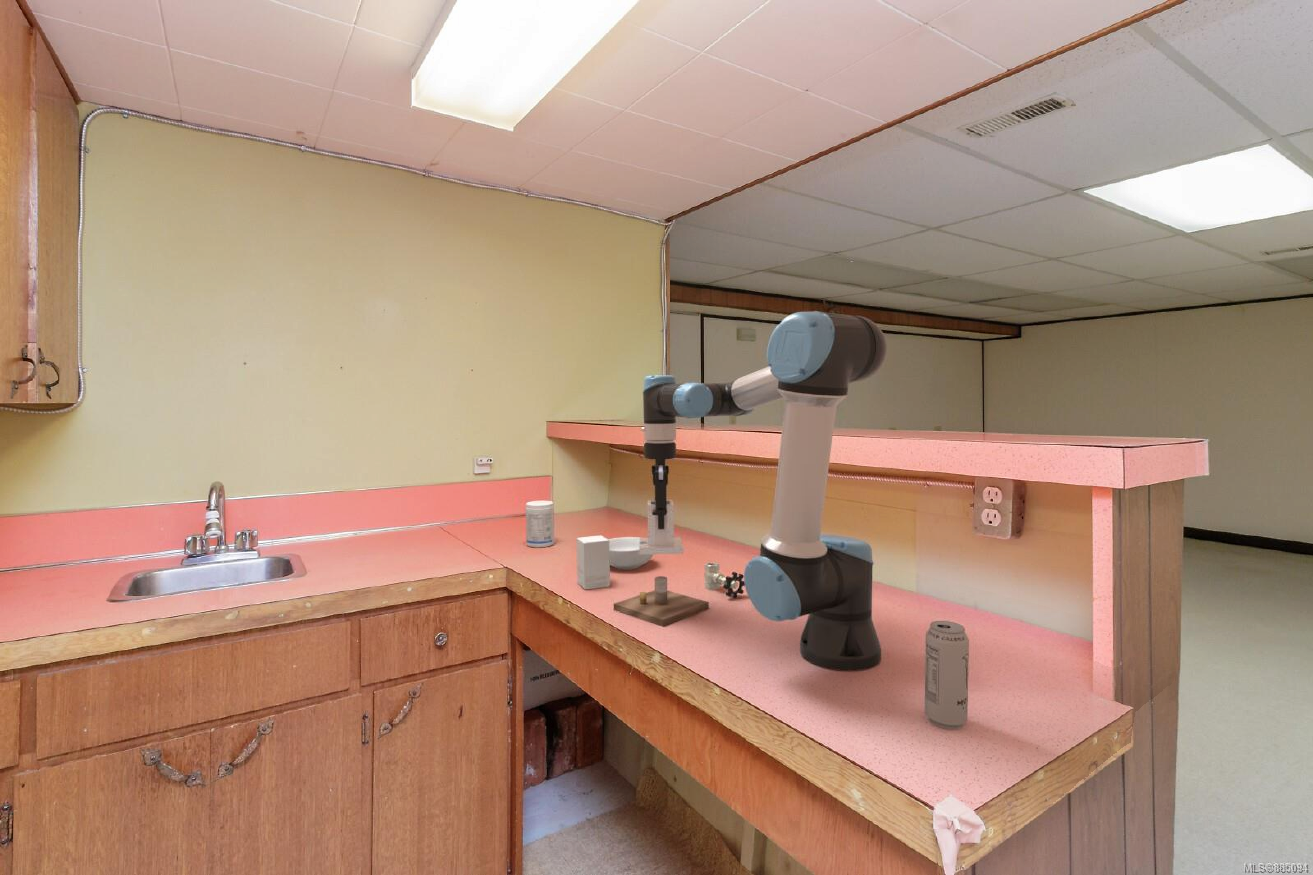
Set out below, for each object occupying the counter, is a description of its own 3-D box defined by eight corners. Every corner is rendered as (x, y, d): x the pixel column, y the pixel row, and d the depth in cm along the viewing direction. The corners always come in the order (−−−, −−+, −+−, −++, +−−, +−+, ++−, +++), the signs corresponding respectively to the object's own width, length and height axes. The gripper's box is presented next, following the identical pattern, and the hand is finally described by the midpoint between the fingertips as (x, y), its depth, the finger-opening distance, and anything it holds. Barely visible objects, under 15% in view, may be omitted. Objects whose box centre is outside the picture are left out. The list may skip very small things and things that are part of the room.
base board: (708, 608, 151) (708, 577, 150) (662, 626, 139) (662, 592, 139) (660, 594, 162) (659, 565, 161) (613, 609, 150) (613, 578, 150)
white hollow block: (680, 543, 154) (680, 498, 154) (683, 553, 145) (682, 506, 144) (639, 543, 154) (639, 499, 154) (639, 554, 144) (638, 506, 144)
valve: (697, 588, 166) (725, 601, 156) (697, 564, 166) (725, 574, 156) (717, 584, 170) (746, 596, 160) (717, 560, 169) (746, 570, 159)
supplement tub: (531, 541, 222) (530, 500, 222) (557, 541, 222) (556, 500, 221) (522, 548, 213) (521, 505, 212) (550, 548, 212) (549, 505, 211)
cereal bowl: (602, 558, 198) (602, 536, 197) (655, 558, 197) (655, 536, 197) (595, 574, 181) (594, 549, 180) (653, 574, 180) (653, 549, 180)
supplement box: (610, 587, 168) (610, 540, 168) (583, 590, 166) (583, 542, 165) (602, 579, 175) (602, 534, 174) (576, 582, 172) (575, 537, 172)
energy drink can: (969, 734, 94) (971, 635, 93) (924, 727, 96) (926, 630, 95) (965, 715, 99) (967, 622, 98) (923, 708, 101) (925, 617, 100)
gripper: (643, 438, 157) (644, 530, 159) (643, 445, 138) (644, 549, 140) (674, 438, 157) (674, 530, 159) (678, 444, 138) (678, 548, 140)
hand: (660, 538), depth 149 cm, fingers closed on white hollow block, 6 cm apart
